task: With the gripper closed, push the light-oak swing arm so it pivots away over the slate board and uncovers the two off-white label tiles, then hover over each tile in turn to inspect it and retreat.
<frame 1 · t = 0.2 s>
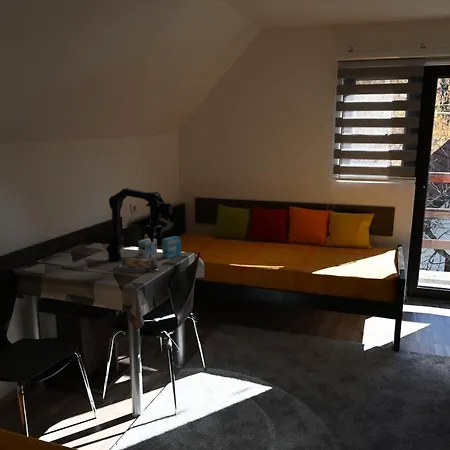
hand: (155, 240, 281), 14 cm above the table, fingers open, 9 cm apart
pivot base: (153, 270, 271), on the table
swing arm: (139, 263, 273), point 4 cm above the table, hinge at 0.0°
label board: (133, 268, 275), on the table
light bulb box: (147, 257, 300), on the table
data package: (171, 256, 301), on the table
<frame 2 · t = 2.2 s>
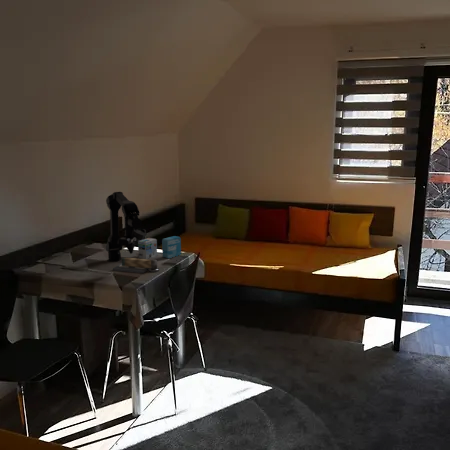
hand: (131, 253, 265), 11 cm above the table, fingers closed
nothing on the table moved.
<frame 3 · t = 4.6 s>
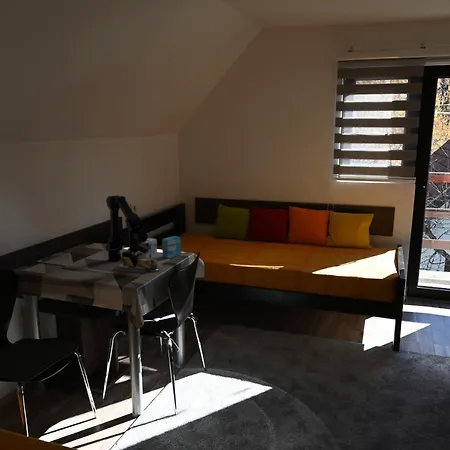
hand: (134, 266, 271), 2 cm above the table, fingers closed
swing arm: (140, 262, 273), point 4 cm above the table, hinge at 3.1°, touching gripper
everything else where it was.
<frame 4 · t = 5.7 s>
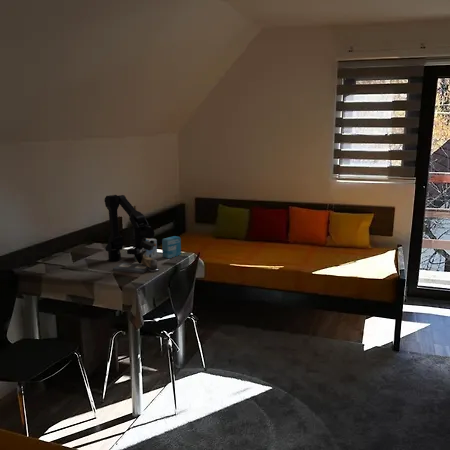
hand: (140, 263, 275), 3 cm above the table, fingers closed
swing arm: (145, 261, 277), point 4 cm above the table, hinge at 34.5°, touching gripper
everything else where it was.
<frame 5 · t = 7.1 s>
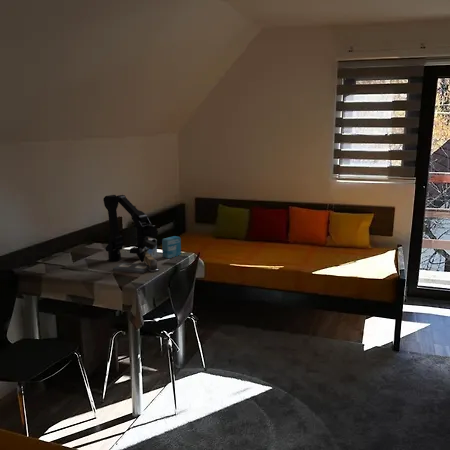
hand: (142, 262, 279), 3 cm above the table, fingers closed
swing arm: (149, 260, 278), point 4 cm above the table, hinge at 49.3°, touching gripper
everything else where it was.
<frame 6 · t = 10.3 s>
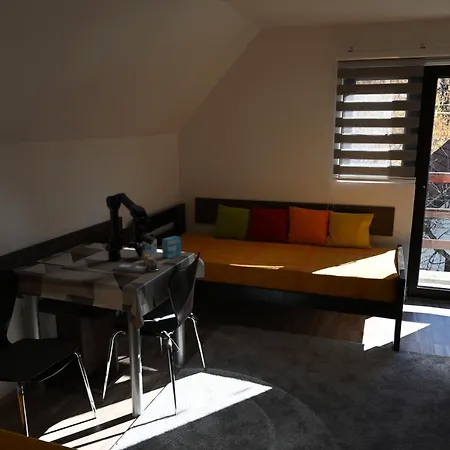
hand: (140, 257, 272), 7 cm above the table, fingers closed
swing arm: (149, 260, 278), point 4 cm above the table, hinge at 49.3°
everything else where it was.
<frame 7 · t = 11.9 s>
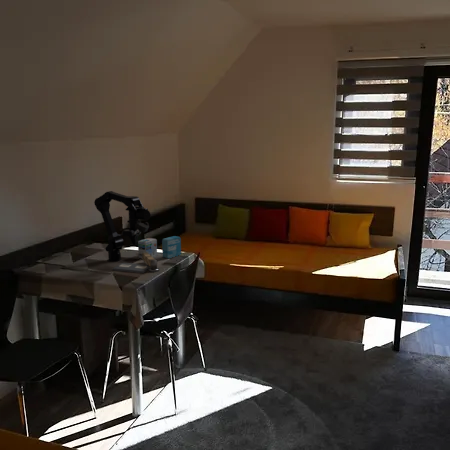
hand: (134, 244, 281), 12 cm above the table, fingers closed
nothing on the table moved.
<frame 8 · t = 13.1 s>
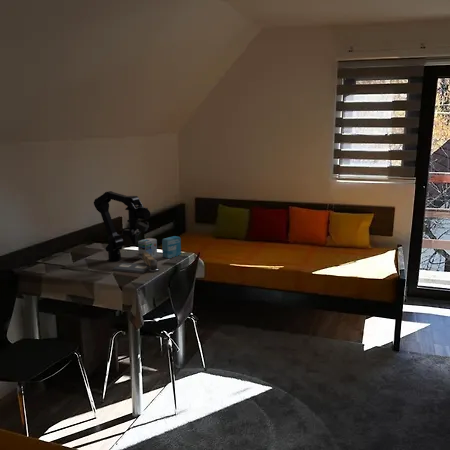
hand: (134, 244, 282), 12 cm above the table, fingers closed
nothing on the table moved.
at the end: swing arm at +49° (first picture: +0°); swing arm touching nothing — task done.
